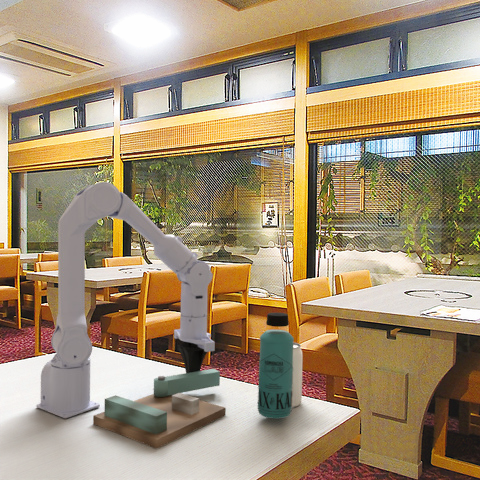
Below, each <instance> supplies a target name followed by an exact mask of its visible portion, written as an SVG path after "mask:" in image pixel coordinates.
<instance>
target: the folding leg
mask: <svg viewBox="0 0 480 480" xmlns="http://www.w3.org/2000/svg"><path fill="white" fill-rule="evenodd" d="M220 374H221V371H220V370H217V369H216V368H210V369H204V370H200V371H197V372H191V373H186V372H185V373H180V374H174V375H169V376H168V375H167V376H164V375H159V376H157V377H156V378H153V394H154V396H157V397H165V396H168V395H173V394H177V393H182V394H184V393H188V392H193V391H197V390H203V389H209V388H213V387H214V388H215V387H219V386H220V385H221V384H220V380H221V379H220V378H221V375H220Z"/></svg>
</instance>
